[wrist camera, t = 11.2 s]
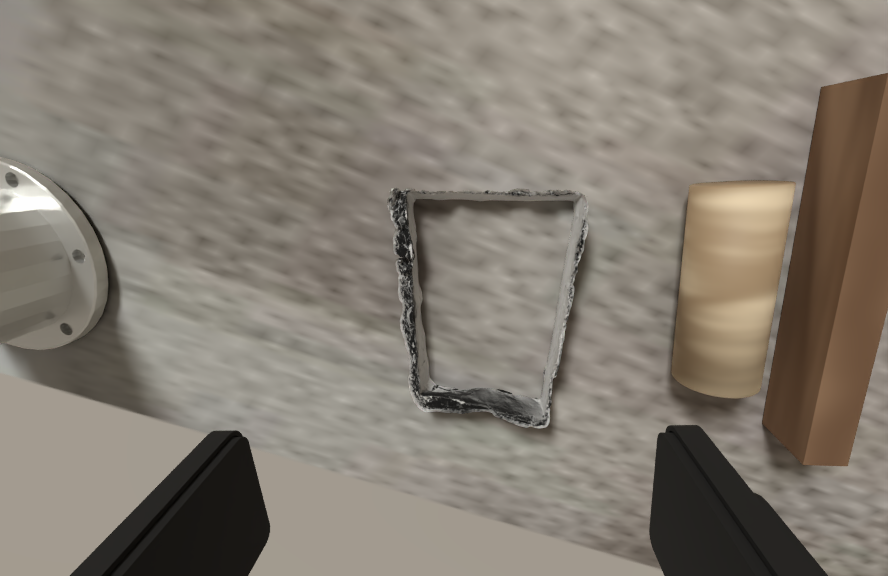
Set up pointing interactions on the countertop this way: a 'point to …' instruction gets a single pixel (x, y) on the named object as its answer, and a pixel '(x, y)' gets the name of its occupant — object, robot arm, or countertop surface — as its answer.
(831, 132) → the stop rail
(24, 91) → the countertop surface
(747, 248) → the roller
